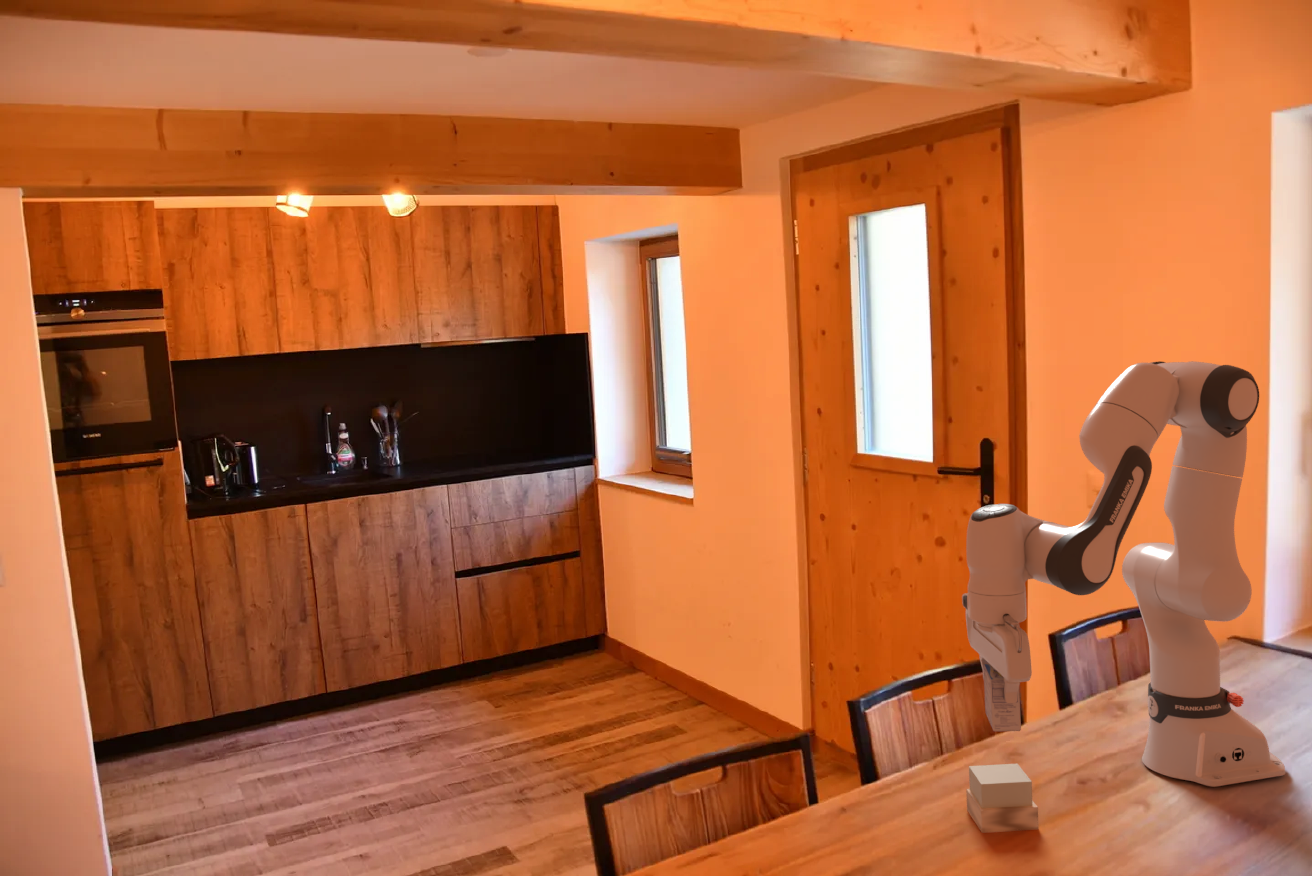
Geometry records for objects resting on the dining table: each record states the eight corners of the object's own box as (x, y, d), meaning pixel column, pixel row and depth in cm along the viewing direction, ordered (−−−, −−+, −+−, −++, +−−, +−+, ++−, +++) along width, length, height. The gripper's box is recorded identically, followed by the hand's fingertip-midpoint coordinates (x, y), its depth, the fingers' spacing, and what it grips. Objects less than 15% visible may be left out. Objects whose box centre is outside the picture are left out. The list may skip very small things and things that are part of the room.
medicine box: (1021, 732, 165) (1019, 678, 164) (992, 732, 166) (990, 679, 165) (1012, 714, 173) (1011, 662, 172) (984, 714, 173) (982, 663, 173)
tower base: (1021, 808, 175) (1020, 785, 175) (1038, 831, 167) (1037, 807, 167) (967, 812, 175) (966, 789, 175) (982, 834, 167) (981, 810, 167)
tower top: (1018, 786, 174) (1017, 763, 174) (1032, 805, 167) (1031, 781, 167) (969, 789, 174) (968, 766, 174) (982, 808, 167) (981, 784, 167)
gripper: (1041, 623, 157) (1043, 713, 158) (995, 590, 177) (998, 670, 179) (999, 626, 157) (1001, 715, 158) (958, 593, 177) (961, 672, 179)
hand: (999, 691), depth 169 cm, fingers closed on medicine box, 8 cm apart
